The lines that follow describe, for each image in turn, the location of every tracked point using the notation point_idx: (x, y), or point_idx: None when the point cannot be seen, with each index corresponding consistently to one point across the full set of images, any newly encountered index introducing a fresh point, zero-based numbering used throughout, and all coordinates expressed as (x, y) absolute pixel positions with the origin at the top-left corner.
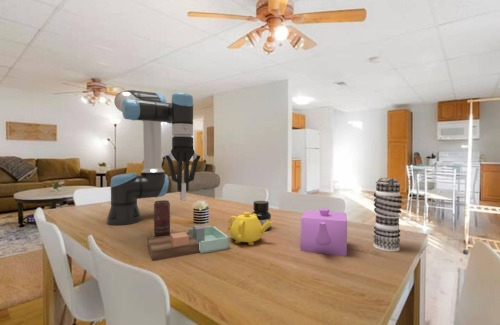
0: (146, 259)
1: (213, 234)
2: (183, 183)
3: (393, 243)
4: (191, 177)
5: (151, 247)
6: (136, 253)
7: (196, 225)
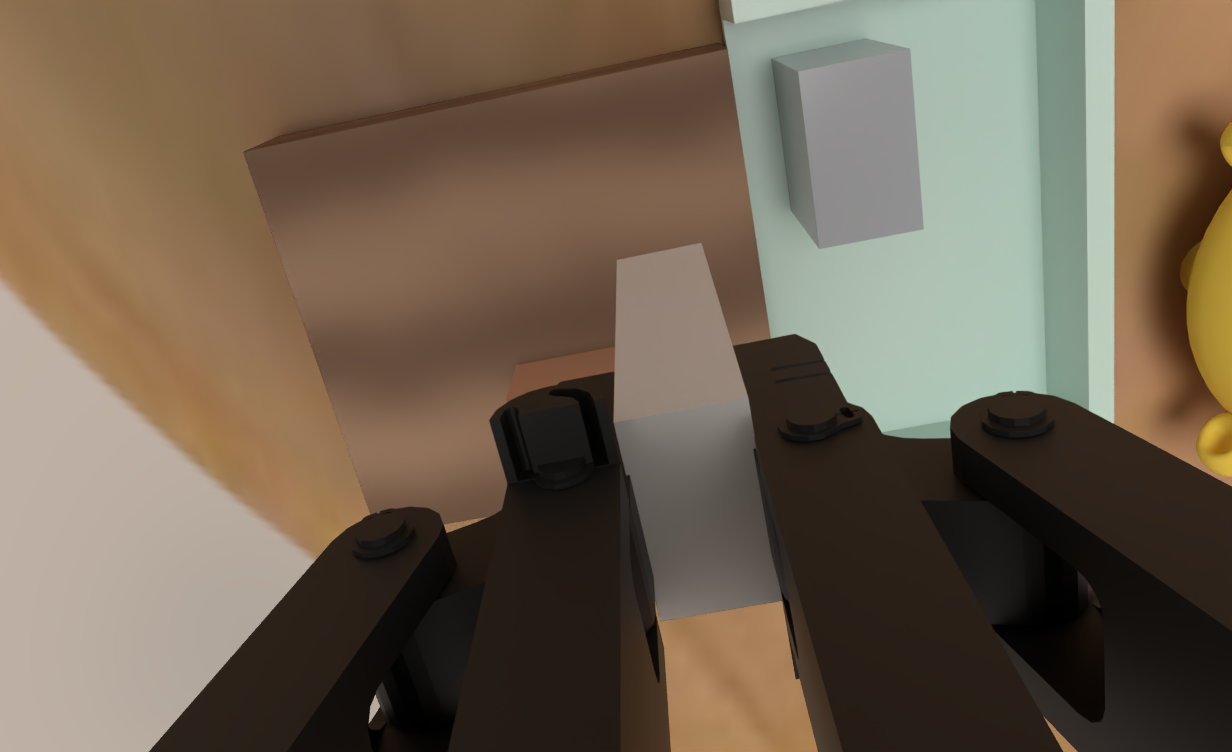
0: (340, 458)
1: (1042, 8)
2: (708, 608)
3: None
4: (1030, 672)
5: (349, 449)
6: (218, 306)
7: (847, 68)
